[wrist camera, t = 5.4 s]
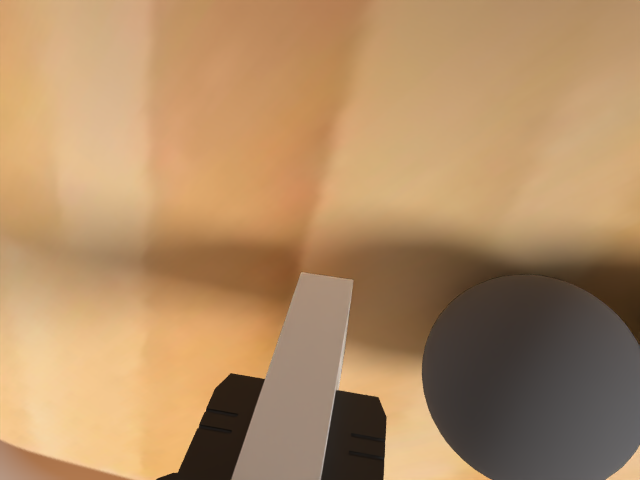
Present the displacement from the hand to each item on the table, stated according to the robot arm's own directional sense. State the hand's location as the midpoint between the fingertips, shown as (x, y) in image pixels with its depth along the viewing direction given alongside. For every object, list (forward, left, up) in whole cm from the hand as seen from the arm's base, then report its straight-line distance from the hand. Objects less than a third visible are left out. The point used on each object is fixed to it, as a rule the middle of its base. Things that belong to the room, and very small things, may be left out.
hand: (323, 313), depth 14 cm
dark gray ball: (0, +6, +1) cm, 6 cm away
